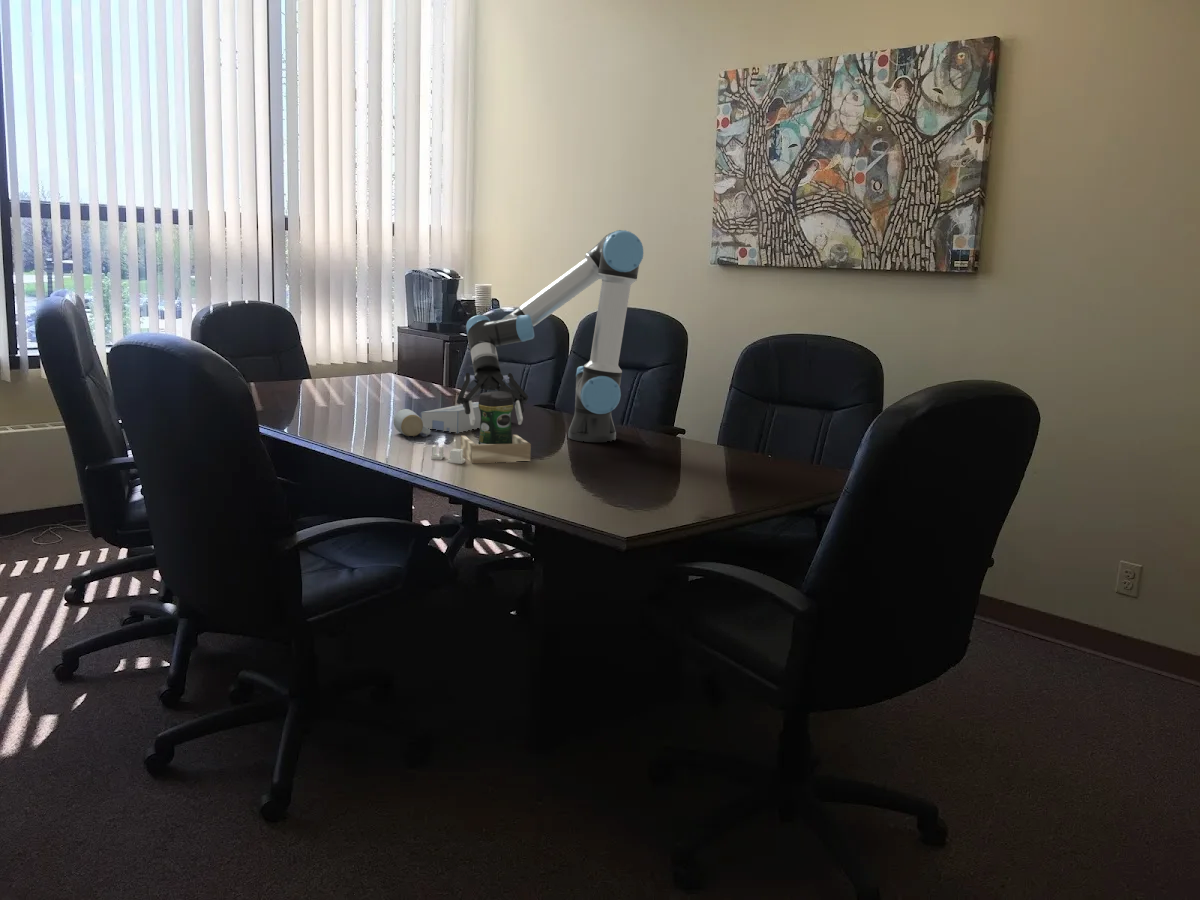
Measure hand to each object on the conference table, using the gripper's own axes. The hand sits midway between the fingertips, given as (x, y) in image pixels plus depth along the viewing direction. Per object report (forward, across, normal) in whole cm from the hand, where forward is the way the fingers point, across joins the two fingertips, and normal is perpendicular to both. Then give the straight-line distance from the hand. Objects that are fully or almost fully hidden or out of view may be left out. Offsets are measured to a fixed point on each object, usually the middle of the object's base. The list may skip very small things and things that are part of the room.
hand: (497, 422), depth 268 cm
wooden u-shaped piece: (+6, 0, -9) cm, 10 cm away
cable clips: (+8, +14, -7) cm, 17 cm away
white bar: (-31, -4, -46) cm, 56 cm away
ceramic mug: (-20, +17, -35) cm, 43 cm away
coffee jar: (+6, 0, -9) cm, 11 cm away
